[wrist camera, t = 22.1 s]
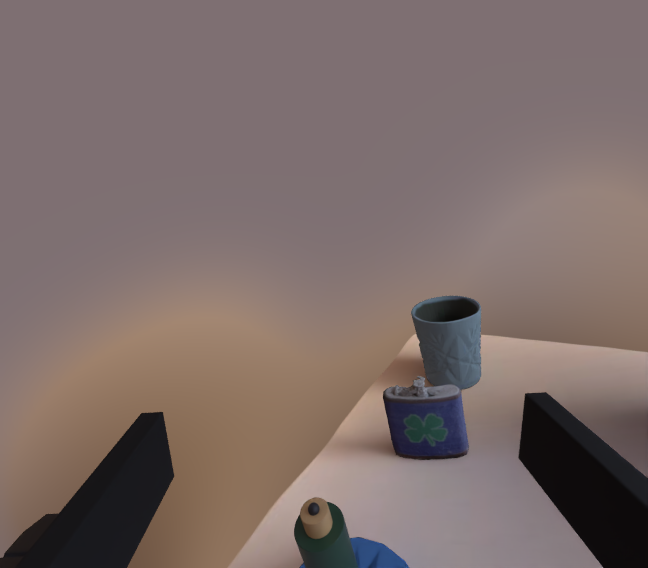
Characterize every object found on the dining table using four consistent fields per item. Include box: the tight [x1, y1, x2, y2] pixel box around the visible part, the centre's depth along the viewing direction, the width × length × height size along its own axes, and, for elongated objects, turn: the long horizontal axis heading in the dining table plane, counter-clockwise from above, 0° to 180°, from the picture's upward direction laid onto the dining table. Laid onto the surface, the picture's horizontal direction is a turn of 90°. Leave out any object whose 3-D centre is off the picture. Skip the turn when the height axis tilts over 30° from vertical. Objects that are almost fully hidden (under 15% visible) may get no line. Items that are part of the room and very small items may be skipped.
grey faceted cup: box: [411, 296, 481, 390], centre depth 56 cm, size 10×10×12 cm
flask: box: [383, 376, 469, 460], centre depth 42 cm, size 9×3×11 cm, turn 76°
